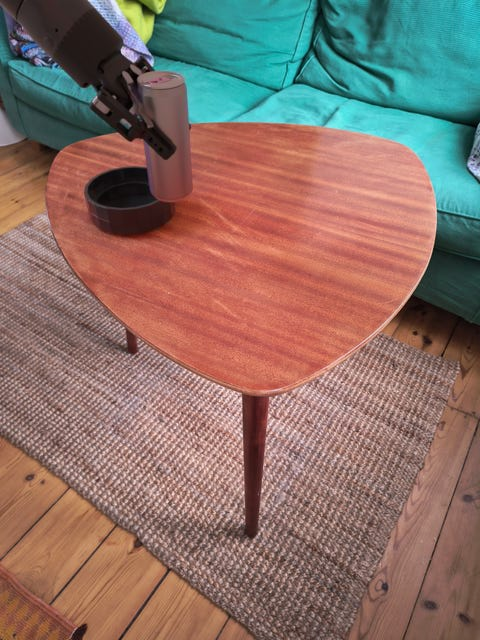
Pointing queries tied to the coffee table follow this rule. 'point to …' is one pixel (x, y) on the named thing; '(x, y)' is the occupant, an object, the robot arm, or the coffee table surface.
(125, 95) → the robot arm
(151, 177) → the beverage can
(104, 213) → the dark round dish
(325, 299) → the coffee table surface
